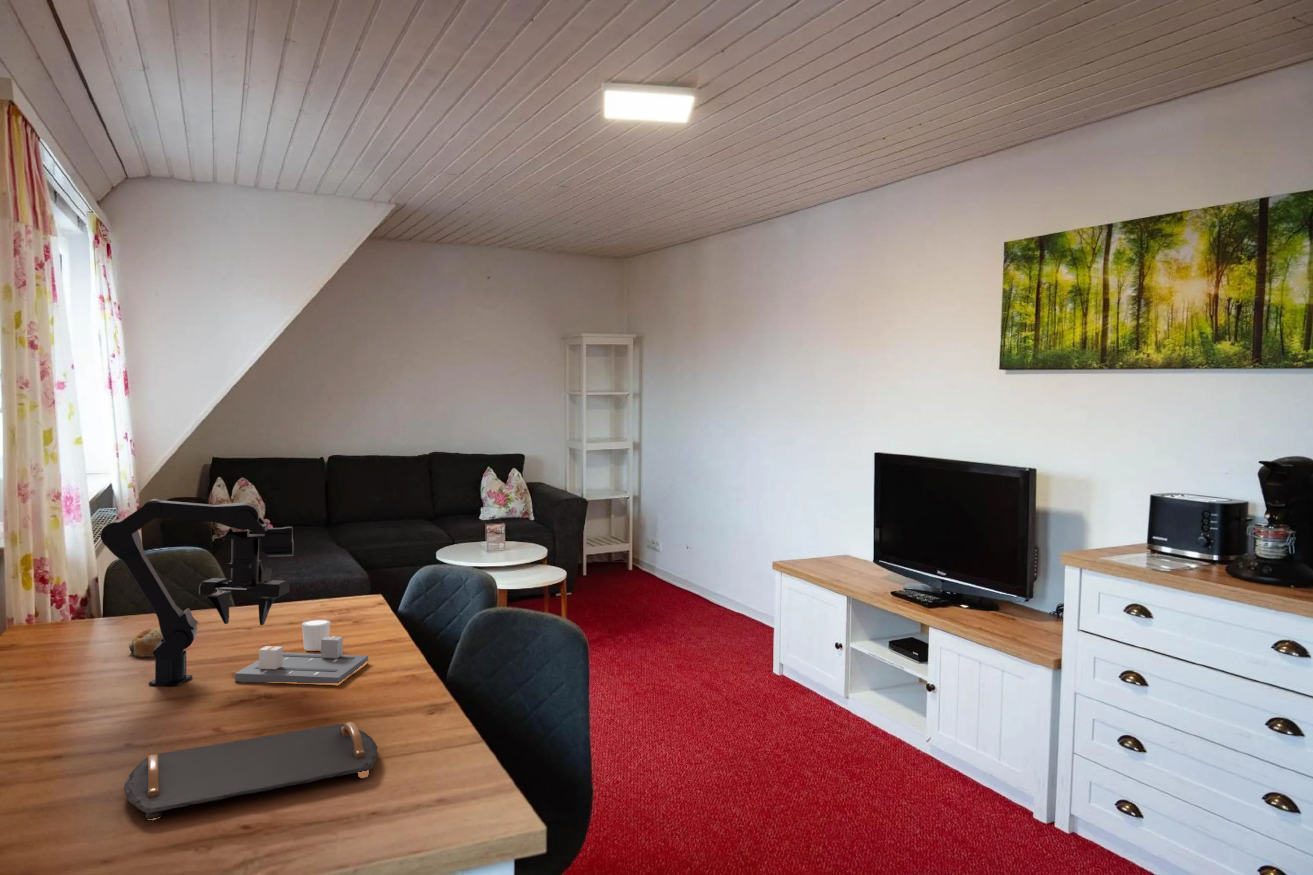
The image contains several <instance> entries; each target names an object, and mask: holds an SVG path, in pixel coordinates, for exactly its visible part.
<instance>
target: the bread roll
mask: <svg viewBox="0 0 1313 875" xmlns="http://www.w3.org/2000/svg"><path fill="white" fill-rule="evenodd" d="M162 639H163V636H162V633H161V630H160V627H151V628H147V629H144V630H143V631H141V632H139V633H138V634H136V636H135V637H134V638H132V639H131V640H132V641H131V642H130V643H129V644H128V646H127V647H128V649H129V651H130V653H131V654H132V656H134V657H139V658H146V657H147V658H148V657H149V658H153V657H154V654H153V651H154V650H155V648H156V647H157V645H158V644H159V642H160V641H161V640H162ZM154 658H155V657H154Z"/></svg>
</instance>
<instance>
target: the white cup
mask: <svg viewBox="0 0 1313 875" xmlns="http://www.w3.org/2000/svg"><path fill="white" fill-rule="evenodd" d="M301 627H302V639H303V640H302V641H303V642H302V643H303V650H304V649H305V650H314V651H315V650H321V640H322V639H323V638H325V637H327V636H330V630H331V629H330V627H331V621H330V620H328V619H310V620H306V621H303V622H301ZM305 650H304V651H305Z"/></svg>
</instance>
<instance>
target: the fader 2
mask: <svg viewBox="0 0 1313 875" xmlns="http://www.w3.org/2000/svg"><path fill="white" fill-rule="evenodd" d="M343 646H344V637H342V636H334V635H333V636H332V635H331V636H330V635H329V636H327V637H325V638H323V639H322V640H321V651H320V654H321V658H339V657H340V656H342V655H344V654H343V652H344V650H343Z"/></svg>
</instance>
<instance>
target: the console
mask: <svg viewBox="0 0 1313 875" xmlns="http://www.w3.org/2000/svg"><path fill="white" fill-rule="evenodd" d="M366 661H368V662H369V655H362V654H361V655H358V654H356V655H355V654H343V655H342V656H340V657H339V658H321V653H313V652H287V651H285V652H284V651H283V663H282V666H281V667H279V668H277V669H259V659H258V660H256V661H253V662H252V663H251V664H249V665H247V666H245V667H243V668H242V669H240V670H238V671H237V672H235V673H234V682H235V681H242V682H241V683H246V682H297V683H339V682H341V681H342V680H343V679H345V678H346V677H347V676H348V675H350V674H352V673H353V672H354V671H355V670H357V669H358V668H359V667H360V666H362V665H363V664H364V663H365V662H366Z"/></svg>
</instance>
